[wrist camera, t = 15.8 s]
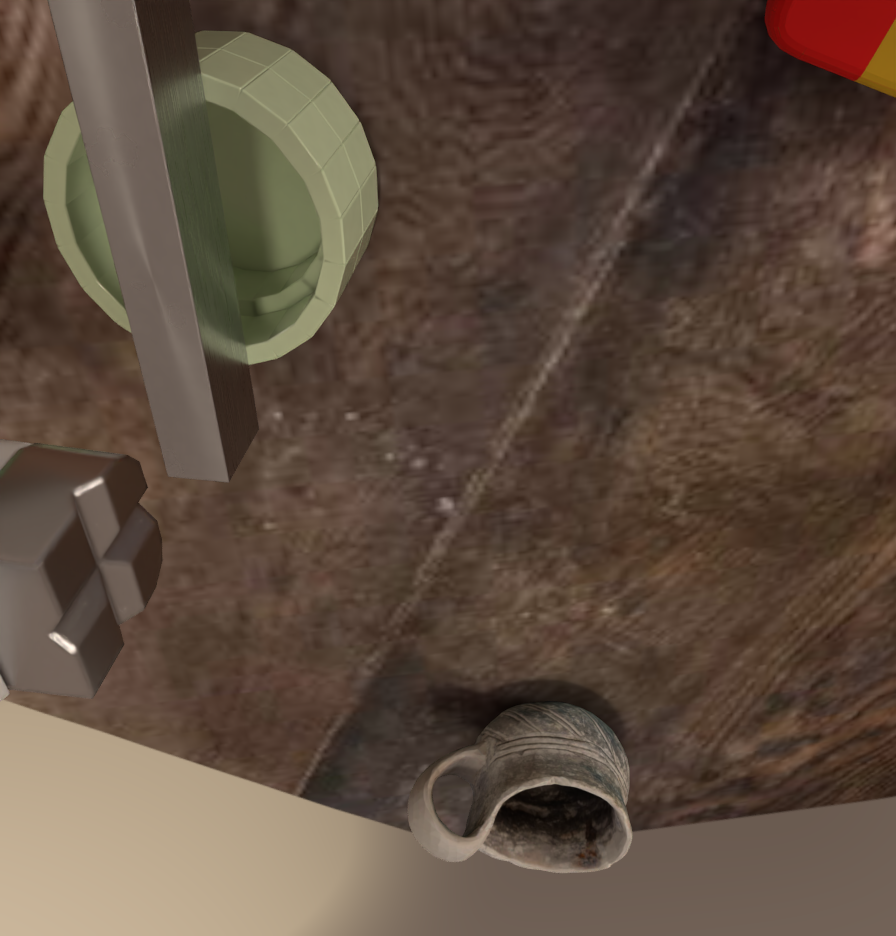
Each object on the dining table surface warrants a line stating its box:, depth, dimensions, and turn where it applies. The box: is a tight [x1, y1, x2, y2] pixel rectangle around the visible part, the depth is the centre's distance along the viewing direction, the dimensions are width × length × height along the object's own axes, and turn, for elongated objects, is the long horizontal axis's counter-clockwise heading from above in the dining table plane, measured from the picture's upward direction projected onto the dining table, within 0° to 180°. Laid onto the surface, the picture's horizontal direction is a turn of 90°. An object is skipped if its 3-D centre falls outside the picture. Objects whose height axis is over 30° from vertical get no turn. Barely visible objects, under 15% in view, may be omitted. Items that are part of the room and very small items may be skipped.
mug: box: [407, 701, 633, 873], centre depth 49 cm, size 10×12×10 cm
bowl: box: [43, 30, 378, 365], centre depth 32 cm, size 11×11×6 cm
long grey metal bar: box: [48, 0, 259, 482], centre depth 28 cm, size 16×2×4 cm, turn 0°
